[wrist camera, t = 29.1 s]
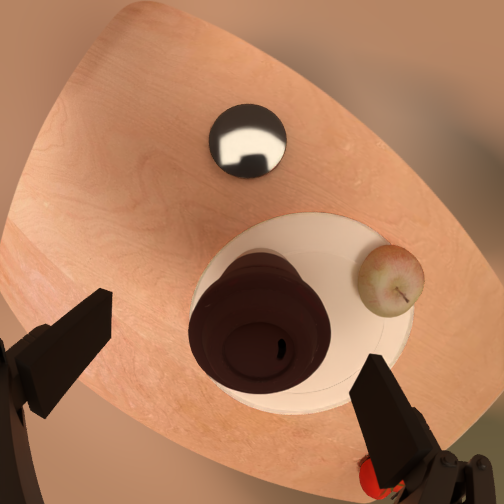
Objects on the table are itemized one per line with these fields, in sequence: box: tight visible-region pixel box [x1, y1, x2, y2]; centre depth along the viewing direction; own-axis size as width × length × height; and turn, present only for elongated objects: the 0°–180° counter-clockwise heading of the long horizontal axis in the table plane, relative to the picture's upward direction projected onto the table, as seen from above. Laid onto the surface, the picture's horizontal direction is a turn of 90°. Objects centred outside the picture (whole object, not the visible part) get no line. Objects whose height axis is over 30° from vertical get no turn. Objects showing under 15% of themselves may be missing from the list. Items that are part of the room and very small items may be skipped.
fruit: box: [358, 245, 425, 318], centre depth 28 cm, size 8×7×8 cm
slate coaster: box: [209, 104, 287, 178], centre depth 29 cm, size 8×8×1 cm
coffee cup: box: [188, 248, 331, 394], centre depth 25 cm, size 10×10×15 cm
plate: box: [189, 212, 414, 415], centre depth 33 cm, size 28×28×1 cm
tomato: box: [359, 459, 405, 500], centre depth 36 cm, size 11×12×9 cm
